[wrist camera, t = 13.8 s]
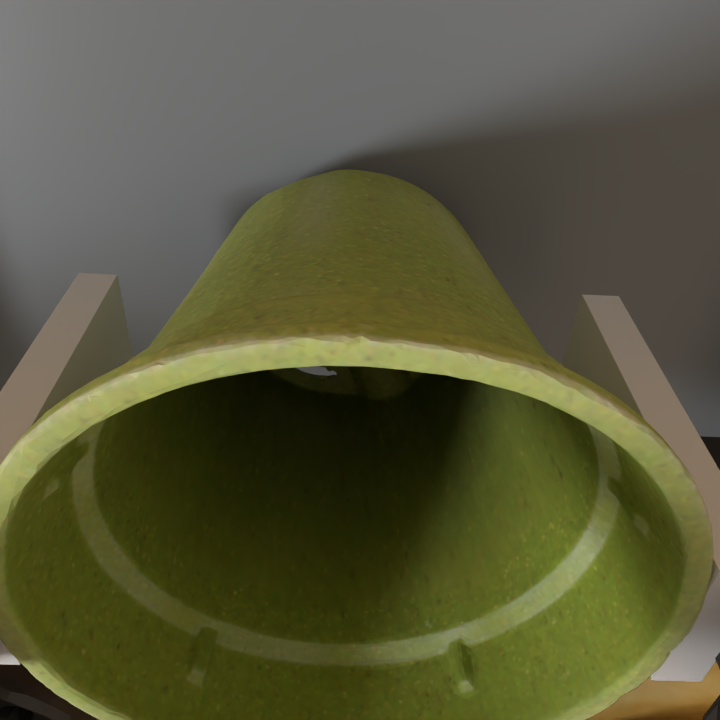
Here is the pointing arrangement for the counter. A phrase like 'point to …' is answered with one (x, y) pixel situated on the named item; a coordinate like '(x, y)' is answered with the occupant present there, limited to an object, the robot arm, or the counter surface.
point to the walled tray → (371, 149)
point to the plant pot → (347, 495)
